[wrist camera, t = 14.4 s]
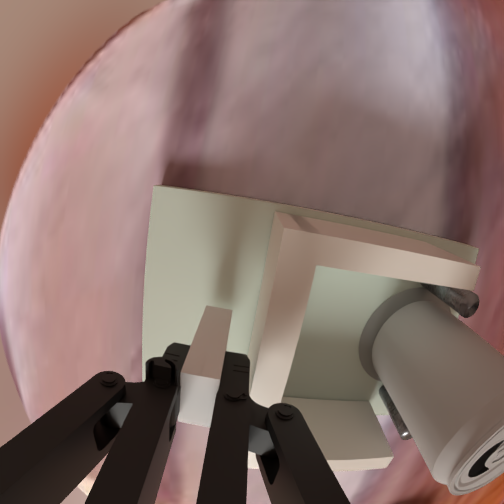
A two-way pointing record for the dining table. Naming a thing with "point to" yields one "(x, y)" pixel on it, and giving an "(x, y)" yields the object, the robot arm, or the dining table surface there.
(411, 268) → the housing
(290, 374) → the board
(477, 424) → the beverage can
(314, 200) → the dining table surface
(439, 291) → the pins
